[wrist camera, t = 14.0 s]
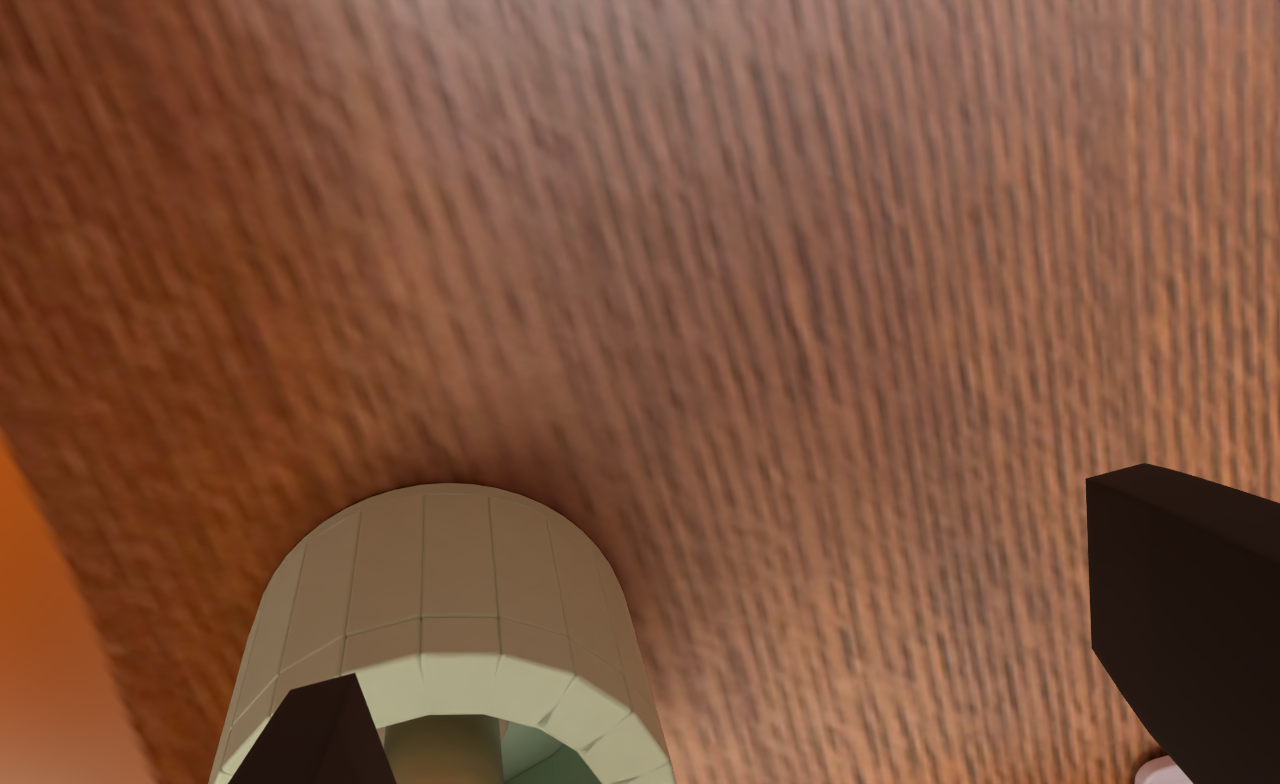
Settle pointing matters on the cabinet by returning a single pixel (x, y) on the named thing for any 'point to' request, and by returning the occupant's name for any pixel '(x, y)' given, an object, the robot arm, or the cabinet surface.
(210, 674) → the cabinet surface
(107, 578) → the cabinet surface
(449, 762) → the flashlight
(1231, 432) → the cabinet surface
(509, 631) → the jar
